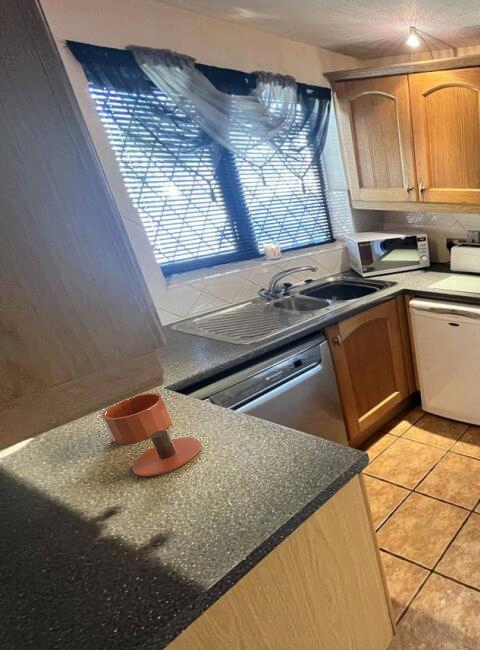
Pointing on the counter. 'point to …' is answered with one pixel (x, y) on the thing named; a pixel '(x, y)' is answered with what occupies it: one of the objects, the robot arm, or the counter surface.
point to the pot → (137, 418)
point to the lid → (166, 454)
